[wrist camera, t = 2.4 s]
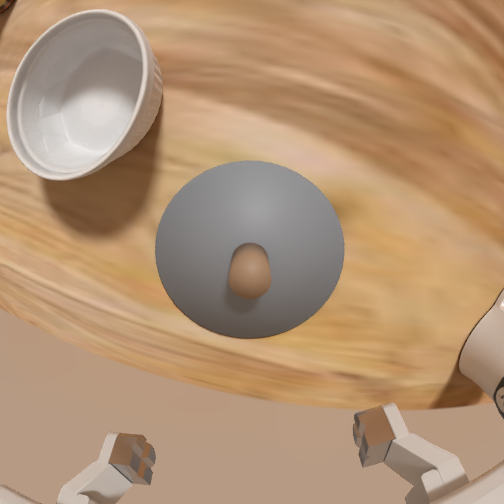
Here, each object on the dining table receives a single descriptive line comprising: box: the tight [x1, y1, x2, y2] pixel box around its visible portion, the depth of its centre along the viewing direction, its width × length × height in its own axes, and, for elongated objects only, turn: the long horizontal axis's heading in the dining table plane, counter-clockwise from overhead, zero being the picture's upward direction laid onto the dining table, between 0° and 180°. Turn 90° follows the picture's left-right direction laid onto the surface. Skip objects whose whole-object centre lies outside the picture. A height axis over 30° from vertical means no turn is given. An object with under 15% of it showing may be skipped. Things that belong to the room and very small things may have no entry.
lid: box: [155, 161, 344, 338], centre depth 24 cm, size 17×17×5 cm
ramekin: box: [7, 9, 163, 181], centre depth 18 cm, size 13×13×7 cm
